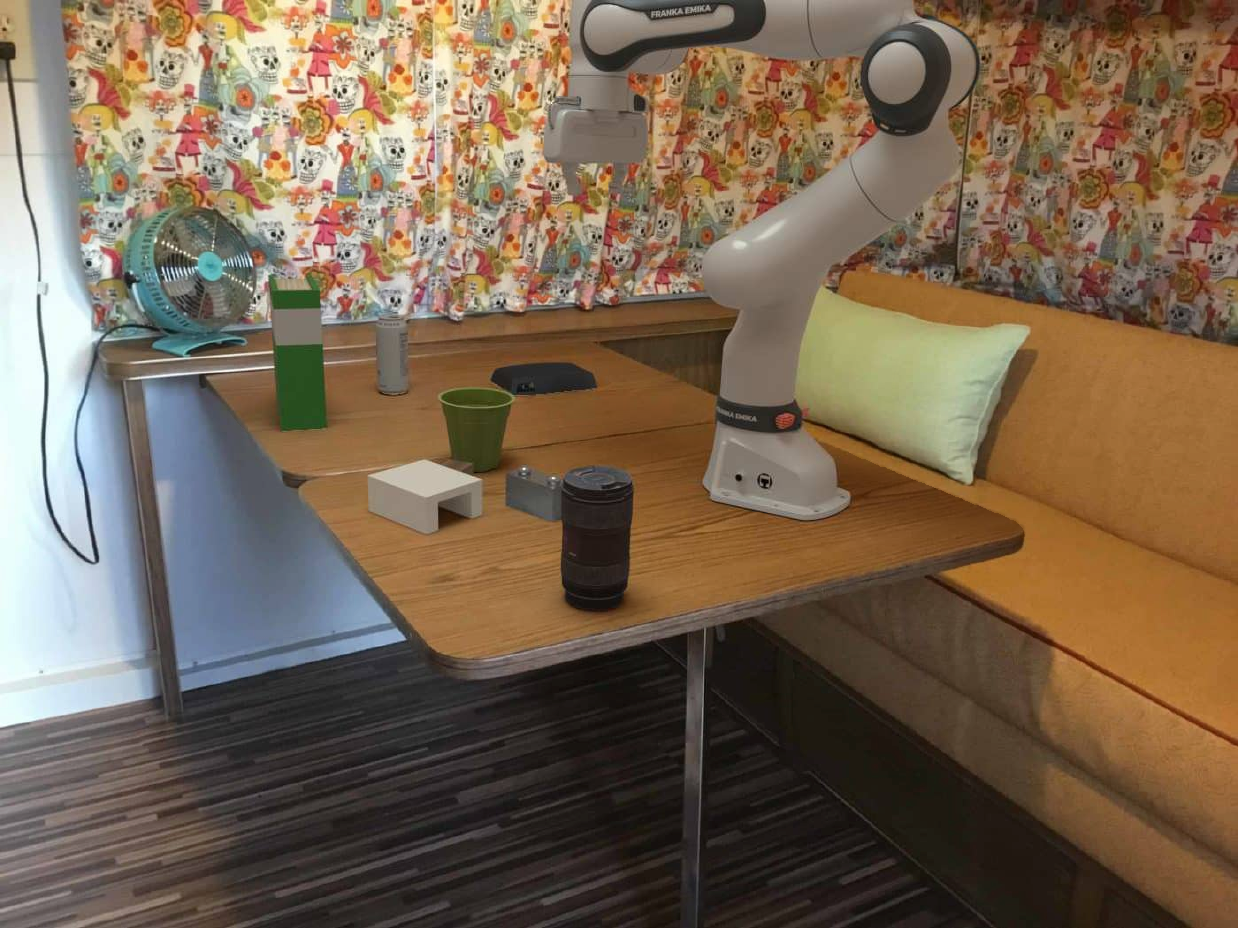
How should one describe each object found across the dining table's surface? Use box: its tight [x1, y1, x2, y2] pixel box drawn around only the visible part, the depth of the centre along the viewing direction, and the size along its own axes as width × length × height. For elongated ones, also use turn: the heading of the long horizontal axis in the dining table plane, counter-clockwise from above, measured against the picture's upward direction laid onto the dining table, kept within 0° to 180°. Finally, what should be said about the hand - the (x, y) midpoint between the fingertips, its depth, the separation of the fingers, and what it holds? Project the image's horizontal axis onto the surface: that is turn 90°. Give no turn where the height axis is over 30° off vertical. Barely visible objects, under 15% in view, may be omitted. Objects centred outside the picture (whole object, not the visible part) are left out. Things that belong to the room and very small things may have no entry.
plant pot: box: [437, 387, 516, 473], centre depth 159 cm, size 12×12×11 cm
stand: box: [367, 459, 483, 535], centre depth 140 cm, size 12×10×5 cm
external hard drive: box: [489, 361, 598, 396], centre depth 211 cm, size 13×19×4 cm
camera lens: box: [560, 465, 635, 611], centre depth 116 cm, size 8×8×15 cm
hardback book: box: [267, 273, 328, 432], centre depth 179 cm, size 18×7×24 cm, turn 20°
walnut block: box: [440, 459, 474, 477], centre depth 150 cm, size 4×4×4 cm
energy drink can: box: [374, 313, 410, 394], centre depth 199 cm, size 6×6×15 cm
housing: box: [505, 464, 563, 523], centre depth 143 cm, size 9×4×6 cm, turn 51°
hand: (595, 195), depth 156 cm, fingers open, 8 cm apart
